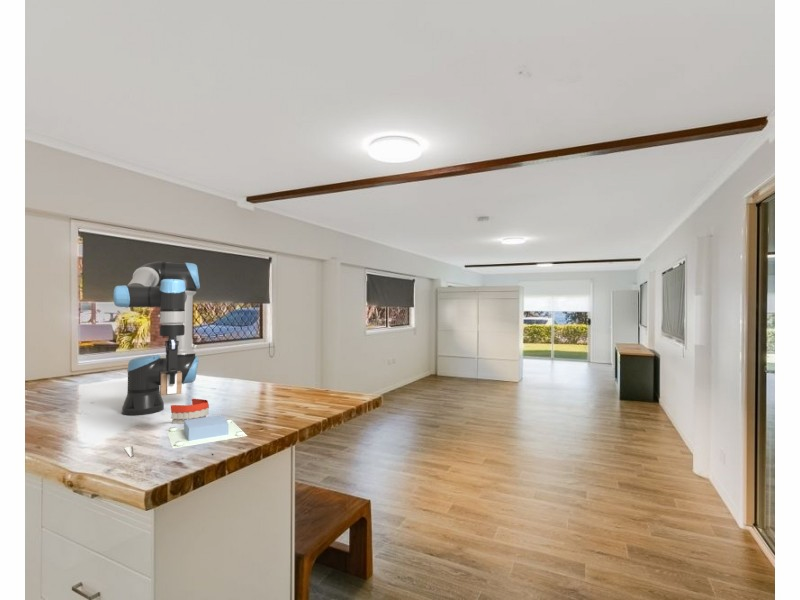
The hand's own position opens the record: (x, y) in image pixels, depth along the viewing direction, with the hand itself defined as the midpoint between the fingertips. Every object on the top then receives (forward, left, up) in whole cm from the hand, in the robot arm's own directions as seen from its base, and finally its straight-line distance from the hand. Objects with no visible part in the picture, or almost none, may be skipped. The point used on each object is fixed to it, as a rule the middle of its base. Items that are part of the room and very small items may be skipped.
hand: (171, 391), depth 138 cm
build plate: (+6, +10, -15) cm, 19 cm away
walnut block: (0, 0, 0) cm, 0 cm away
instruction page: (+9, -9, -15) cm, 20 cm away
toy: (-14, +9, -16) cm, 23 cm away
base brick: (+6, +10, -14) cm, 18 cm away
